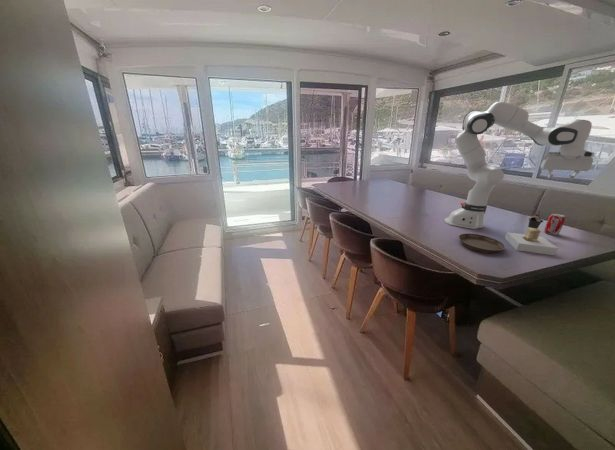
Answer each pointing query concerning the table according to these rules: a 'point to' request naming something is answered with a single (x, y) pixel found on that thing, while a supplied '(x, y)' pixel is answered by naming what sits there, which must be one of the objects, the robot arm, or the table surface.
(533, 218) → the sundae
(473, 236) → the plant saucer
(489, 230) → the table surface
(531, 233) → the birch peg
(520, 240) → the socket block
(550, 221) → the soda can
